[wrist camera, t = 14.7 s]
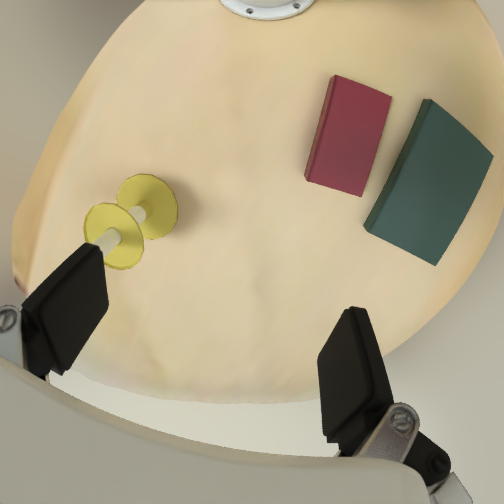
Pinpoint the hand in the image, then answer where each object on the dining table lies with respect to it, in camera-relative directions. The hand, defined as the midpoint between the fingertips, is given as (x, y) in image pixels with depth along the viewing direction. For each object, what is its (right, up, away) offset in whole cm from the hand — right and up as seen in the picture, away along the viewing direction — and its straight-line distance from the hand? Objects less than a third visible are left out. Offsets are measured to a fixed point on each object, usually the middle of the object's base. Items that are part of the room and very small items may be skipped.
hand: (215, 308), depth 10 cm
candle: (-14, +8, +27) cm, 32 cm away
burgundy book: (+13, +16, +20) cm, 29 cm away
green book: (+26, +11, +21) cm, 36 cm away
